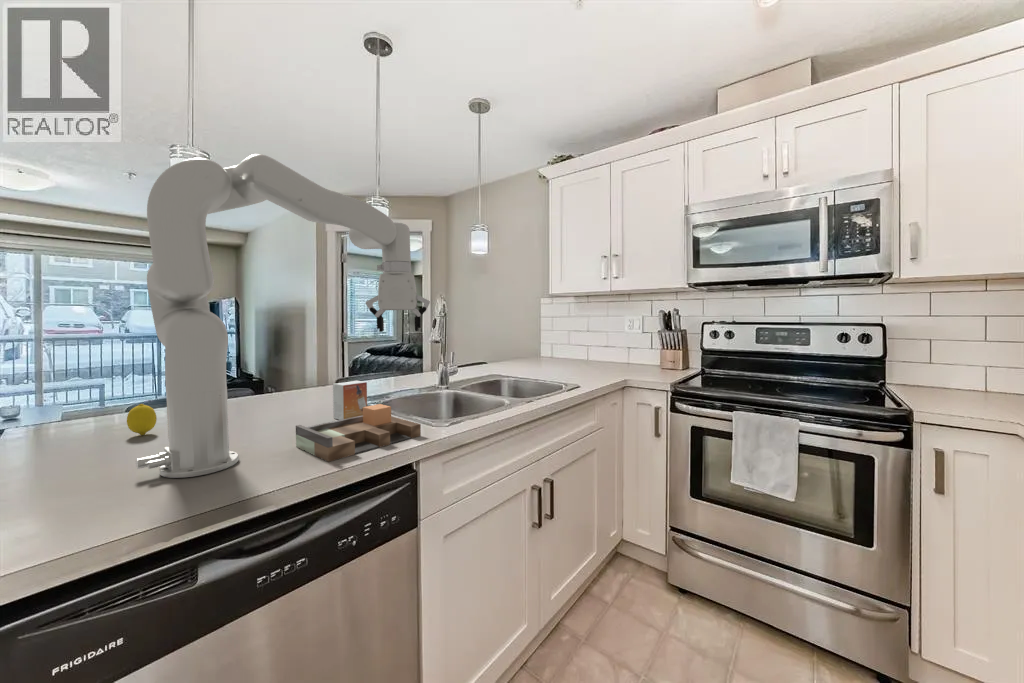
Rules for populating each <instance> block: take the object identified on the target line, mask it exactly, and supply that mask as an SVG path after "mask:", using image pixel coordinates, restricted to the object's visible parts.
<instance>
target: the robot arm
mask: <svg viewBox="0 0 1024 683" xmlns="http://www.w3.org/2000/svg"><path fill="white" fill-rule="evenodd" d="M265 201H268V202H271V203H272V204H275V205H277V206H279V207H281V208H283V209H284V210H287V211H289V212H290V213H293V214H295V215H297V216H298V217H300V218H302V219H304V220H307V221H309V222H312V223H317V224H325V225H336V226H341V227H343V228H347V229H349V230H348V237H349V240H350V242H351V243H352V244H353V245H354V246H355V247H357V248H359V249H361V250H381V251H382V252H381V256H382V261H381V264H378V265H377V266H376V270H378V271H381V272H382V273H380V274H379V278H378V290H377V295H376V296H373V297H371V298H370V299H368V300H366V301H365V305H366V307H367V308H368V310H369V311H370V313H372V315H374V317H376V329H377V330H378V332H379V333H382V332H384V331H385V325H384V321H385V320H384V317H383V314H384V313H385V312H386V311H412V313H413V314H414V315H415V317H414V331H415V332H418V331H420V330H419V329H420V328H422V327H421V326H422V324H421V322H422V321H421V317H422V315H424V313H426V311H427V310H428V308H429V306H430V303H431V301H430V300H428V299H427V298H425V297H423V296H421V295H419V294H417V286H416V281H415V280H416V279H415V275H414V274H413V273H412V263H411V262H412V261H411V256H412V255H411V235H410V234H411V233H410V227H409V226H408V225H407V224H405V223H402V222H396V221H395V222H394V221H393V220H392V219H391V218H390V216H388V215H387V214H385V212H382V211H381V210H379V209H377V208H376V207H374V206H373V205H371V204H368V203H367V202H365V201H363V200H360V199H358V198H356V197H353V196H349V195H346V194H343V193H341V192H337V191H335V190H330V189H327V188H325V187H323V186H321V185H320V184H318V183H316V182H314V181H312V180H311V179H309V178H307V177H306V176H304V175H302V174H300V173H299V172H297V171H295V170H293V169H292V168H290V167H288V166H286V165H285V164H283V163H281V162H280V161H278V160H277V159H274V158H272V157H270V156H269V155H266V154H261V153H254V154H251V155H249V156H247V157H246V158H244V159H242V160H241V161H240V162H239V163H238V164H237V165H232V166H228V167H223V166H222V165H220V164H219V163H218V162H216V161H214V160H212V159H209V158H204V157H193V158H188V159H184V160H181V161H179V162H177V163H175V164H173V165H171V166H169V167H168V168H166V169H165V170H164V171H162V173H161V174H160V175H159V176H158V177H157V179H156V180H155V182H154V183H153V185H152V187H151V189H150V191H149V194H148V198H147V204H146V218H147V219H146V221H147V227H148V233H149V234H148V237H149V243H150V249H151V250H150V251H151V256H152V264H151V265H150V266H149V269H148V271H147V273H146V285H147V286H146V288H147V291H148V297H149V302H150V307H151V313H152V319H153V323H154V329H155V333H156V336H157V338H158V340H159V342H160V343H161V344H162V346H164V350H165V351H164V352H165V354H164V355H165V360H164V361H165V364H164V365H165V366H164V369H165V370H164V378H165V379H164V381H165V395H166V413H167V435H168V436H167V437H168V439H167V440H168V446H165V447H163V451H161V452H158V453H157V454H155V455H150V456H143V457H137V458H136V459H135V466H136V469H137V470H140V469H145V468H148V470H150V469H156V468H158V467H159V468H158V470H159V475H160V476H162V477H164V478H169V479H180V478H181V479H184V478H185V479H186V478H192V477H194V478H195V477H198V476H204V475H210V474H213V473H216V472H220V471H223V470H225V469H228V468H230V467H233V466H234V465H236V464H237V462H239V459H240V458H239V457H240V456H239V453H238V452H236V451H233V450H230V434H229V411H228V410H229V408H228V405H229V404H228V386H227V385H228V384H227V358H228V347H229V335H228V330H227V327H226V325H225V323H224V322H223V320H222V319H221V318H220V317H219V316H218V315H217V314H215V313H213V312H212V311H211V310H210V307H209V301H208V295H209V294H210V293H211V291H212V290H213V288H214V284H215V277H214V272H213V268H212V263H211V257H210V252H209V247H208V239H207V231H206V222H207V216H208V215H210V214H215V213H220V212H224V211H225V212H226V211H228V210H235V209H240V208H244V207H249V206H252V205H256V204H260V203H263V202H265ZM418 301H419V302H421V303H423V305H422V308H420V309H418ZM374 303H377V306H378V310H377V309H376V308H375V307H374V305H373V304H374Z"/></svg>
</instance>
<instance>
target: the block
mask: <svg viewBox="0 0 1024 683" xmlns="http://www.w3.org/2000/svg"><path fill="white" fill-rule="evenodd" d="M391 416H392V406H390V405H385V404H382V403H378V404H373V405H367V406H366V407H363V423H366V424H369V425H373V426H376V425H380V424H385V423H389V422H391Z"/></svg>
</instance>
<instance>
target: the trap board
mask: <svg viewBox="0 0 1024 683" xmlns="http://www.w3.org/2000/svg"><path fill="white" fill-rule="evenodd" d="M421 426H422V425H421V423H417V422H414V421H410V420H406V419H404V418H399V417H396V416H392V415H391V422H389V423H385V424H380V425H376V426H373V425H369V424H366V423H363V415H362V416H357V417H352V418H347V419H343V420H338V419H337V420H334V421H329V422H323V423H319V424H314V425H309V426H304V425H302V424H298V425H295V446H296V448H297V447H298V448H297V449H299V448H300V450H301V451H304V450H305V451H304V452H306V453H308V452H309V453H308V454H310V453H311V455H312V454H313V455H312V456H314V455H315V457H316V458H319V457H320V458H319V459H321V458H322V459H321V460H323V459H324V460H323V461H325V460H326V461H325V462H328V463H329V462H333V461H337V460H340V459H343V458H346V457H350V456H355V455H357V454H361V453H362V454H363V453H365V452H368V451H372V450H376V449H380V448H382V447H386V446H390V445H394V444H397V443H401V442H403V441H407V440H411V439H415V438H418V437H421V435H422V434H421V431H422V430H421V428H422V427H421Z"/></svg>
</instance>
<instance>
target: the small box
mask: <svg viewBox="0 0 1024 683" xmlns="http://www.w3.org/2000/svg"><path fill="white" fill-rule="evenodd" d="M332 406H333V408H332V410H333V419H335V420H337V421H338V420H343V419H347V418H352V417H357V416H362V415H363V407H366V406H368V383H367V381H362V380H351V381H347V382H346V381H345V382H338V383H332Z"/></svg>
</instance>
